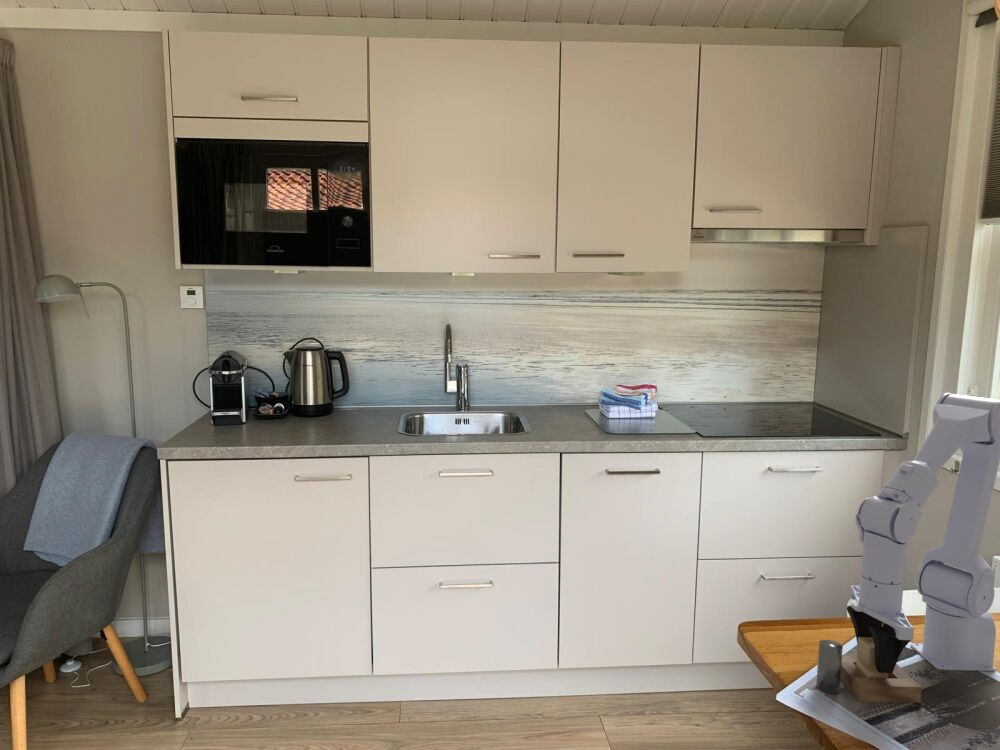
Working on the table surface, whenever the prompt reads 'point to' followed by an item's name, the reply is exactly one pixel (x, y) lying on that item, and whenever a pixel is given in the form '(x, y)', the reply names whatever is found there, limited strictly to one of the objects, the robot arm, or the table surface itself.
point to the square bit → (867, 658)
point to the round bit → (829, 666)
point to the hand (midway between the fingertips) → (875, 662)
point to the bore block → (879, 684)
